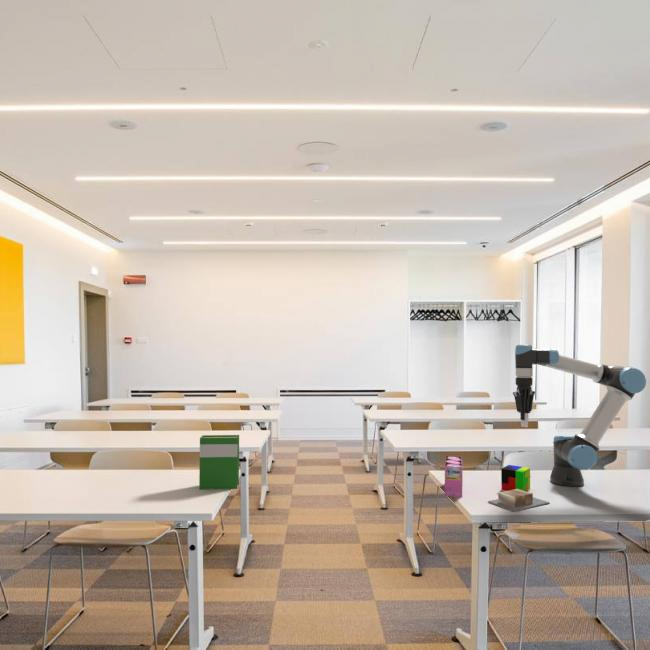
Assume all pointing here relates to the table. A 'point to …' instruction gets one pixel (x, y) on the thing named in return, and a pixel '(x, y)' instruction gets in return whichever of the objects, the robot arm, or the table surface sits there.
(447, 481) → the gum box
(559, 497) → the table surface
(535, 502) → the mat
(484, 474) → the table surface
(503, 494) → the slab
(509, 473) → the puzzle toy
